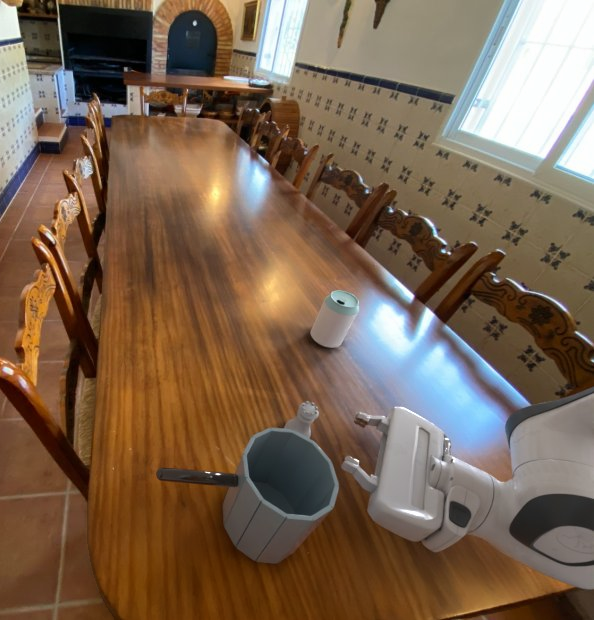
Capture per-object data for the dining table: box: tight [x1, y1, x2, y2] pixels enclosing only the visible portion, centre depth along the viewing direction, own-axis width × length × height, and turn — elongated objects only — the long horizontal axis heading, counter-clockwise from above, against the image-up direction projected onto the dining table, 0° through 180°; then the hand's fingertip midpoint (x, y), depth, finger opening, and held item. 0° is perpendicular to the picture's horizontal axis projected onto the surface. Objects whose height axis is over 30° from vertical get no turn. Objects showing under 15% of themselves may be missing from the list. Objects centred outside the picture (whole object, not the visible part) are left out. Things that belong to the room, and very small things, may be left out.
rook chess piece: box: [283, 400, 320, 439], centre depth 61 cm, size 4×4×8 cm
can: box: [310, 290, 360, 349], centre depth 79 cm, size 7×7×12 cm
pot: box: [155, 427, 340, 565], centre depth 47 cm, size 21×11×15 cm, turn 87°
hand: (350, 437), depth 56 cm, fingers open, 8 cm apart
